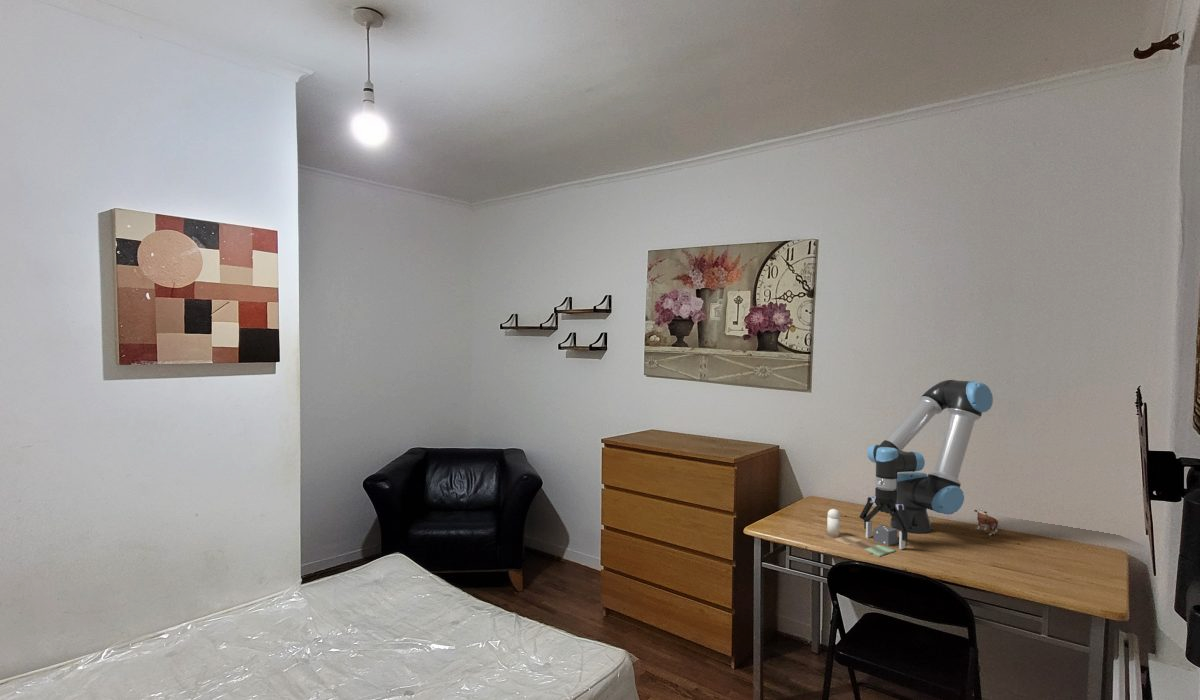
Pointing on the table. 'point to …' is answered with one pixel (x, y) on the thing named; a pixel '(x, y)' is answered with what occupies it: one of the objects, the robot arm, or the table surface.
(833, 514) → the pawn
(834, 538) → the lane
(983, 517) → the bull figurine
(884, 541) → the die
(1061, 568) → the table surface
